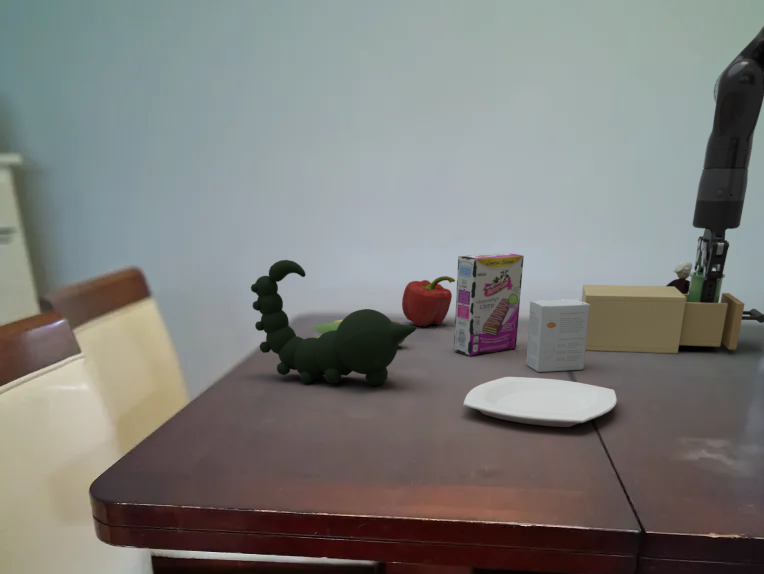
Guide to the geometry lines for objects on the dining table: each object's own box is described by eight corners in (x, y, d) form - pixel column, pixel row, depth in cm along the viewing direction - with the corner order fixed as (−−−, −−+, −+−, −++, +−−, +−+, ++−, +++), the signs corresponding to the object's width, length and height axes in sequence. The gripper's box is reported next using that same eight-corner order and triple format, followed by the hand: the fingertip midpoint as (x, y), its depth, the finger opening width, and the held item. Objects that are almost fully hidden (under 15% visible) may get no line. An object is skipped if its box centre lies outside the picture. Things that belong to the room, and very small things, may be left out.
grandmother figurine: (697, 325, 154) (707, 261, 149) (689, 327, 152) (699, 262, 146) (661, 320, 159) (670, 258, 154) (653, 323, 157) (662, 260, 151)
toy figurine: (256, 394, 115) (411, 392, 106) (235, 266, 107) (400, 253, 99) (283, 379, 123) (428, 376, 114) (265, 259, 115) (419, 247, 107)
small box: (570, 362, 125) (576, 298, 121) (584, 370, 120) (591, 303, 116) (524, 364, 124) (529, 299, 119) (537, 372, 119) (542, 305, 114)
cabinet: (666, 338, 143) (674, 286, 139) (677, 353, 130) (686, 297, 126) (578, 335, 146) (583, 284, 142) (580, 350, 134) (586, 295, 130)
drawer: (748, 336, 139) (756, 293, 136) (765, 350, 128) (774, 304, 125) (635, 333, 143) (641, 291, 140) (642, 346, 132) (648, 301, 128)
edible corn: (399, 351, 134) (399, 326, 132) (307, 341, 142) (306, 317, 141) (412, 346, 138) (412, 321, 136) (322, 336, 147) (321, 313, 145)
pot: (716, 303, 135) (721, 272, 133) (722, 308, 130) (728, 276, 127) (682, 302, 136) (687, 271, 134) (687, 307, 131) (692, 275, 128)
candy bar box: (470, 357, 129) (474, 258, 122) (452, 352, 133) (455, 255, 126) (518, 349, 135) (525, 254, 128) (500, 344, 138) (505, 251, 132)
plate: (592, 442, 88) (594, 426, 87) (444, 419, 97) (444, 404, 96) (629, 401, 103) (630, 388, 102) (498, 385, 112) (499, 372, 111)
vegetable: (456, 321, 160) (458, 273, 156) (449, 330, 151) (451, 279, 147) (407, 319, 163) (407, 272, 159) (397, 328, 154) (397, 278, 149)
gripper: (754, 199, 118) (734, 307, 125) (734, 196, 131) (717, 295, 138) (704, 199, 120) (687, 306, 127) (689, 196, 133) (674, 294, 139)
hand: (703, 300), depth 132 cm, fingers closed on pot, 5 cm apart
